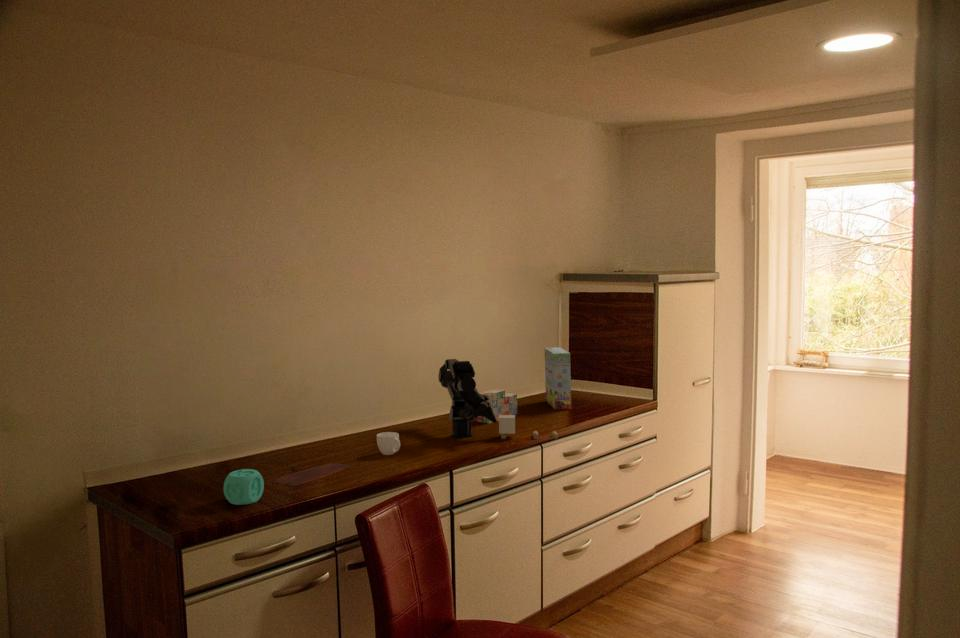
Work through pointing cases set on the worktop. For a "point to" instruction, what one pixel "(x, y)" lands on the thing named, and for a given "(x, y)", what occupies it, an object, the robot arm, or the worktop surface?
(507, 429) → the slab
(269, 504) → the worktop surface
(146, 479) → the worktop surface
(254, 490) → the decorative dice
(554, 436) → the roller
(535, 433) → the cylinder
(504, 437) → the roller
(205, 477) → the worktop surface
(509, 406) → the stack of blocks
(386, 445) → the cup
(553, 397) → the snack box
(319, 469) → the wooden tablet
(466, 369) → the robot arm
